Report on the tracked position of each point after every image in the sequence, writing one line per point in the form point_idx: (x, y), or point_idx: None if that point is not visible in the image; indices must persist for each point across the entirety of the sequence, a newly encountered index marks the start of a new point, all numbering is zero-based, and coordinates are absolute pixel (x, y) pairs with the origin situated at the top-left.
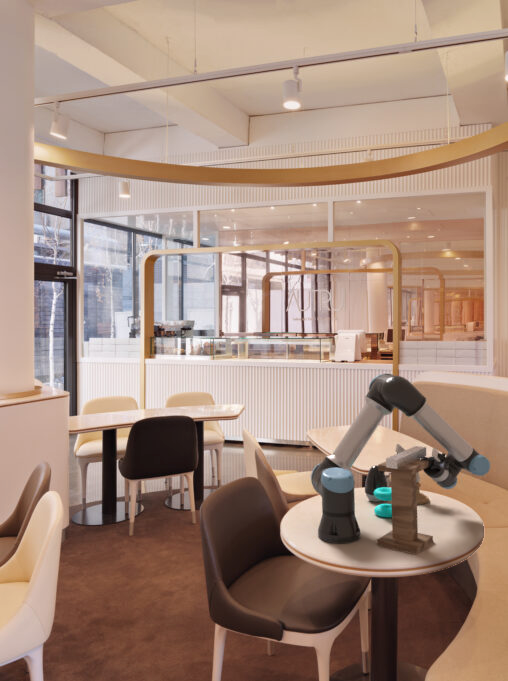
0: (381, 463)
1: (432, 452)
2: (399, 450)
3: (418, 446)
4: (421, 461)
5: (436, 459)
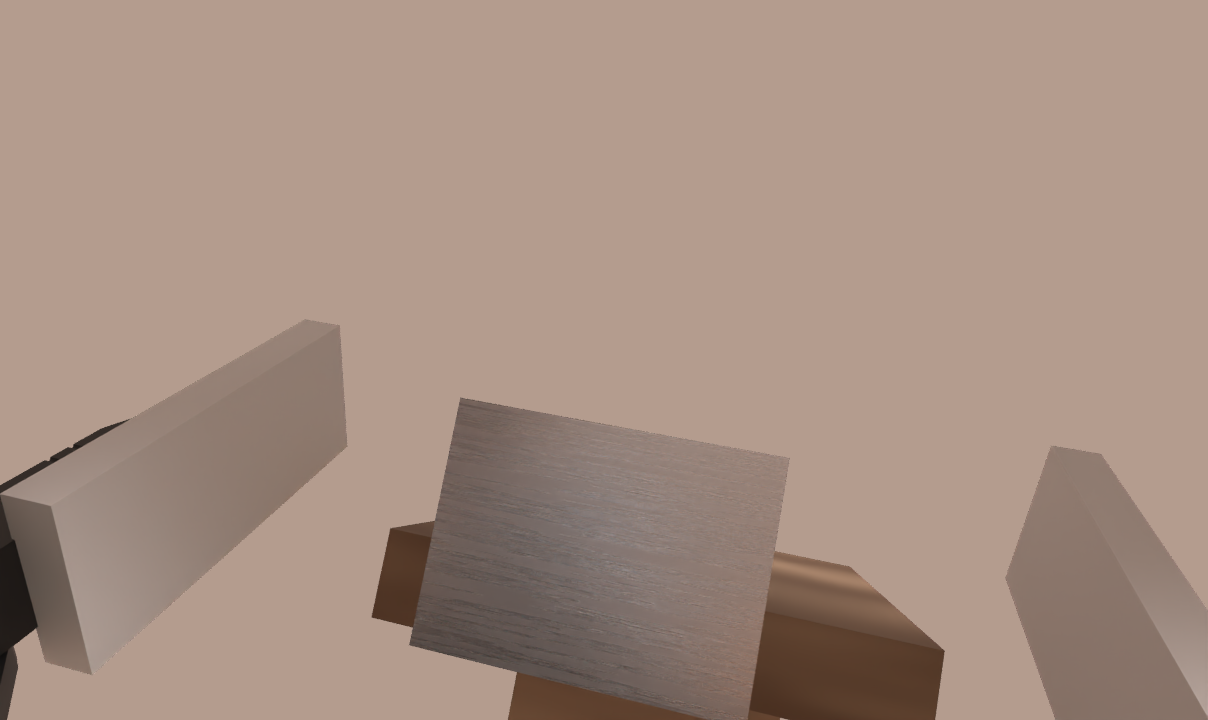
0: (853, 573)
1: (338, 400)
2: (1043, 597)
3: (690, 440)
4: None
5: (192, 569)
